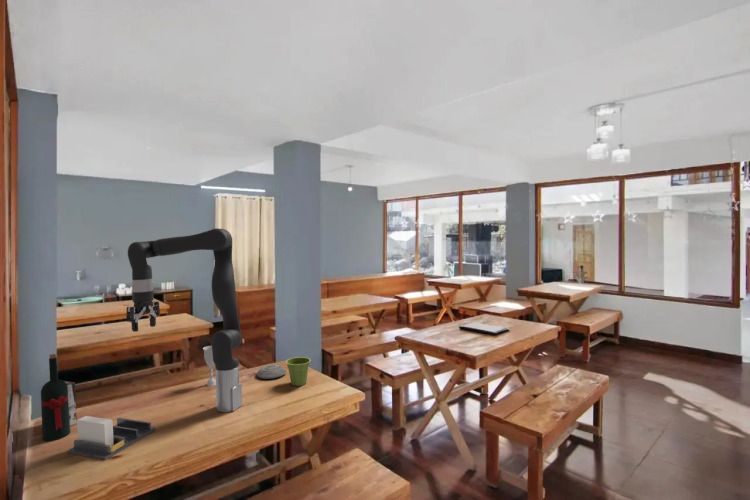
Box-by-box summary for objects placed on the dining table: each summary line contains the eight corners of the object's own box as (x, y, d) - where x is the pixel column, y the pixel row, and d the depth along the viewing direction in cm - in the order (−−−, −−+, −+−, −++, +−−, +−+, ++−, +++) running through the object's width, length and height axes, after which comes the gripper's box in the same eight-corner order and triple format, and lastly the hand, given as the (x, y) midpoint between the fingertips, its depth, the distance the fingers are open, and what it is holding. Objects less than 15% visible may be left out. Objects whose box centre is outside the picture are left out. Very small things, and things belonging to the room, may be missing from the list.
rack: (155, 429, 146) (155, 420, 146) (105, 460, 127) (105, 449, 127) (121, 424, 150) (121, 415, 150) (68, 453, 131) (68, 442, 131)
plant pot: (316, 382, 190) (315, 360, 189) (296, 390, 181) (295, 366, 181) (301, 377, 198) (300, 355, 197) (281, 384, 189) (280, 361, 188)
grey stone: (262, 370, 209) (261, 360, 209) (289, 370, 208) (289, 360, 208) (252, 381, 194) (251, 370, 194) (281, 381, 193) (281, 370, 193)
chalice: (222, 382, 191) (221, 346, 191) (211, 387, 185) (210, 350, 184) (212, 380, 194) (210, 345, 194) (200, 385, 188) (199, 348, 188)
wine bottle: (45, 446, 136) (41, 361, 134) (41, 436, 142) (36, 355, 141) (73, 437, 141) (69, 355, 140) (68, 428, 148) (64, 350, 147)
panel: (113, 445, 133) (112, 419, 133) (105, 450, 130) (104, 424, 130) (86, 441, 137) (85, 415, 136) (78, 445, 134) (77, 419, 133)
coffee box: (77, 422, 152) (75, 382, 152) (59, 430, 146) (57, 388, 146) (62, 419, 155) (60, 379, 155) (43, 427, 149) (41, 385, 149)
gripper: (135, 292, 153) (136, 333, 154) (163, 287, 167) (165, 325, 167) (120, 292, 155) (121, 332, 156) (149, 287, 169) (151, 324, 169)
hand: (144, 328), depth 162 cm, fingers open, 8 cm apart
